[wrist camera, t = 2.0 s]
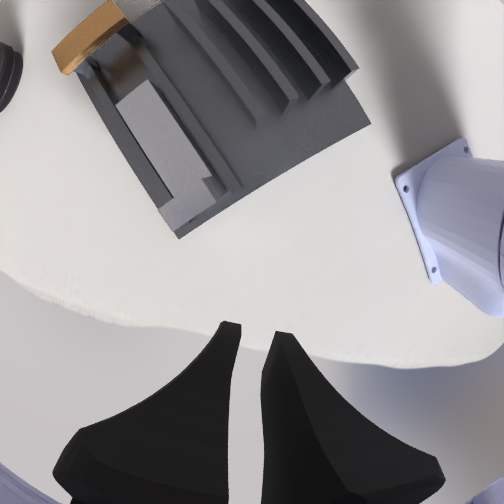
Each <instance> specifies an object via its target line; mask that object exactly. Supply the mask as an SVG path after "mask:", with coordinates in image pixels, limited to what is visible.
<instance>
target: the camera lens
mask: <svg viewBox="0 0 504 504" xmlns="http://www.w3.org/2000/svg"><path fill="white" fill-rule="evenodd" d="M22 66H23V62H22V57H21V55H20V54H19V53H17V52H14V51H13V49H12V47H11V46H8V45H6V44H4V43H2V42H0V112H2V111H3V110H4V109H5V108H6V106H7V105H8V104H9V102H10V101H11V99H12V97H13V95H14V93H15V91H16V89H17V86H18V84H19V81H20V77H21V73H22Z"/></svg>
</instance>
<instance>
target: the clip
mask: <svg viewBox="0 0 504 504" xmlns="http://www.w3.org/2000/svg"><path fill="white" fill-rule="evenodd" d="M115 106H116V107H117V109H118V110H119V112H120V114H121V115H122V117H123V119H124V120H125V122H126V123H127V125H128V127H129V128H130V130H131V131H132V133H133V135H134V136H135V138H136V139H137V141H138V143H139V144H140V146H141V147H142V149H143V150H144V152H145V154H146V155H147V157H148V158H149V160H150V161H151V163H152V164H153V166H154V168H155V169H156V171H157V172H158V174H159V175H160V177H161V178H162V180H163V181H164V183H165V184H166V186H167V187H168V189H169V190H170V192H171V193H172V195H173V196H174V198H173V199H172V200H170V201H169V202H167V203H166V204H165V205H163V206H162V207H161V208H159V209H158V211H159V213H160V214H161V216H162V217H163V219H164V220H165V222H166V223H167V224H168V226H169V227H170V229H171V230H172V232H173V231H175V230H176V229H177V228H179V227H180V226H182V225H183V224H185V223H186V222H188V221H189V220H190V219H192V218H193V217H195V216H196V215H198V214H199V213H201V212H202V211H204V210H205V209H207V208H208V207H210V206H211V205H213V204H214V203H216V202H217V201H218V200H219V199H220V198H221V197H222V196H223V195H224V194H225V193H226V192H227V190H226V189H225V187H224V186H223V184H222V183H221V181H220V180H219V178H218V177H217V175H216V174H215V172H214V171H213V169H212V168H211V166H210V165H209V163H208V162H207V160H206V159H205V157H204V156H203V154H202V153H201V151H200V150H199V148H198V147H197V145H196V144H195V142H194V141H193V139H192V138H191V136H190V135H189V133H188V132H187V130H186V129H185V127H184V126H183V124H182V123H181V121H180V120H179V118H178V117H177V115H176V114H175V112H174V111H173V110H172V108H171V107H170V105H169V104H168V102H167V101H166V99H165V98H164V96H163V95H162V93H161V92H160V90H159V89H158V87H157V86H156V85H155V84H154V83H152V82H151V81H149V80H148V79H147V80H146V81H144V82H143V83H142V84H141V85H139V86H138V87H137V88H136V89H134V90H133V91H132V92H131V93H129V94H128V95H127V96H126V97H125V98H123V99H122V100H121V101H120V102H119V103H118V104H116V105H115Z"/></svg>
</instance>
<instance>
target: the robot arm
mask: <svg viewBox="0 0 504 504" xmlns="http://www.w3.org/2000/svg"><path fill="white" fill-rule="evenodd" d="M464 148H465V151H464ZM395 184H396V187H397V189H398V191H399V194H400V196H401V198H402V201H403V203H404V206H405V208H406V211H407V213H408V216H409V218H410V221H411V224H412V226H413V229H414V232H415V235H416V238H417V240H418V243H419V246H420V249H421V253H422V256H423V259H424V262H425V266H426V269H427V272H428V276H429V280H430V282H431V283H432V284H433V285H437V284H438V283H440V282H441V281H442V280H443V281H445V282H446V283H447V284H448V285H450V286H451V287H452V288H454V289H455V290H456V291H457V292H459V293H460V294H461V295H462V296H464V297H465V298H466V299H467V300H469V301H470V302H471V303H472V304H474V305H475V306H476V307H477V308H478V309H480V310H481V311H482V312H484V313H485V314H488V315H490V316H494V317H504V161H499V160H490V159H480V158H473V157H472V154H471V151H470V148H469V146H468V143H467V141H466V139H465V138H458V139H457V140H455V141H454V142H452V143H450V144H449V145H447V146H445V147H444V148H442V149H441V150H439V151H437V152H436V153H434V154H433V155H431V156H429V157H428V158H426V159H424V160H423V161H421V162H420V163H418V164H416V165H415V166H413V167H411V168H410V169H408V170H407V171H405V172H403V173H402V174H400V175H398V176H397V177H396V180H395ZM405 185H406V187H407V189H406V191H405V192H404V191H403V188H404V186H405ZM433 267H434V269H433V271H432V268H433ZM240 339H241V324H237V323H232V322H227V321H223V322H221V323H220V325H219V328H218V329H217V331H216V333H215V334H214V336H213V337H212V339H211V340H210V342H209V343H208V344H207V345H206V347H205V348H204V349H203V350H202V352H201V353H200V354H199V355H198V356H197V357H196V358H195V359H194V360H193V361H192V362H191V363H190V364H189V365H188V366H187V367H186V368H185V369H184V370H183V371H182V372H181V373H180V374H179V375H178V376H177V377H175V378H174V379H173V380H172V381H170V382H169V383H168V384H167V385H165V386H164V387H162V388H161V389H160V390H158V391H157V392H155V393H154V394H153V395H151V396H150V397H148V398H146V399H145V400H143V401H141V402H140V403H138V404H136V405H134V406H132V407H130V408H129V409H127V410H125V411H123V412H121V413H119V414H117V415H115V416H112V417H110V418H108V419H105V420H102V421H100V422H97V423H95V424H92V425H89V426H87V427H84V428H81V429H79V430H78V432H77V433H76V434H75V435H74V436H73V437H72V439H71V440H70V441H69V443H68V444H67V445H66V447H65V448H64V450H63V452H62V453H61V455H60V457H59V459H58V461H57V463H56V465H55V467H54V469H53V476H54V478H55V480H56V481H57V482H58V483H59V484H60V485H61V486H62V487H63V488H64V489H65V490H66V491H67V492H68V493H69V494H70V495H71V496H72V497H73V498H72V500H71V503H70V504H228V501H229V492H228V491H229V489H228V420H229V400H230V385H231V377H232V371H233V367H234V363H235V358H236V355H237V351H238V347H239V343H240ZM261 410H262V423H263V437H264V470H263V485H262V498H261V504H419V503H421V502H422V501H424V500H425V499H427V498H428V497H430V496H431V495H433V494H434V493H435V492H437V491H438V490H439V489H440V488H441V487H442V486H443V484H444V482H445V480H446V479H445V477H444V474H443V472H442V470H441V467H440V465H439V463H438V461H437V458H436V457H434V456H432V455H430V454H427V453H425V452H423V451H420V450H418V449H416V448H413V447H411V446H409V445H407V444H405V443H403V442H402V441H400V440H398V439H397V438H395V437H393V436H391V435H390V434H388V433H387V432H385V431H384V430H382V429H380V428H379V427H378V426H376V425H375V424H374V423H372V422H371V421H370V420H368V419H367V418H365V417H364V416H363V415H362V414H361V413H360V412H358V411H357V410H356V409H355V408H354V407H353V406H352V405H351V404H349V403H348V402H347V401H346V400H345V399H344V398H343V397H342V396H341V395H340V394H339V393H338V392H337V391H336V390H335V388H334V387H333V386H332V385H331V384H330V383H329V382H328V381H327V379H326V378H325V377H324V376H323V375H322V373H321V372H320V371H319V370H318V368H317V367H316V366H315V365H314V363H313V362H312V360H311V359H310V358H309V356H308V355H307V354H306V352H305V351H304V349H303V348H302V346H301V345H300V344H299V342H298V341H297V339H296V338H295V337H294V335H293V334H291V333H285V332H279V331H276V332H275V335H274V338H273V341H272V344H271V347H270V350H269V353H268V356H267V359H266V361H265V364H264V367H263V370H262V378H261ZM0 504H61V503H59V502H57V501H56V500H54V499H52V498H50V497H49V496H47V495H45V494H44V493H42V492H40V491H39V490H37V489H36V488H34V487H33V486H31V485H30V484H28V483H27V482H25V481H24V480H23V479H21V478H20V477H18V476H17V475H16V474H14V473H13V472H12V471H10V470H9V469H8V468H6V467H5V466H4V465H2V464H1V463H0ZM464 504H504V478H503V477H501V478H500V479H498V480H497V481H495V482H494V483H492V484H491V485H489V486H488V487H486V488H485V489H484V490H482V491H481V492H480V493H478V494H477V495H476V496H474V497H473V498H472V499H471V500H469V501H467V502H465V503H464Z"/></svg>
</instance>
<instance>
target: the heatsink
mask: <svg viewBox="0 0 504 504" xmlns="http://www.w3.org/2000/svg"><path fill="white" fill-rule="evenodd" d="M161 1H162V4H160V5H158V6H157V7H155V8H154V9H152V10H151V11H149V12H147V13H146V14H144V15H143V16H142V17H140V18H139V19H137V20H136V21H134V22H133V23H132V22H131V21H130V20H129V19H128V18H127V17H126V16H125V15H124V14H123V12H122V11H121V10H120V8H119V7H118V6H117V4H116V3H115V2H114V1H112V0H108V1H107V2H106V3H104V4H103V5H102V6H101V7H99V8H98V9H97V10H96V11H94V12H93V13H92V14H91V15H89V16H88V17H87V18H86V19H85V20H84V21H82V22H81V23H80V24H79V25H78V26H77V27H76V28H75V29H74V30H73V31H71V32H70V33H69V34H68V35H67V36H66V37H65V38H64V39H63V40H62V41H61V42H60V43H59V44H58V45H57V46H56V47H55V48H54V49H53V50H52V51H51V52H52V54H53V56H54V59H55V61H56V63H57V65H58V67H59V69H60V71H61V73H63V74H66V75H69V74H70V73H71V72H72V71H74V72H76V73H77V75H78V77H79V79H80V81H81V83H82V85H83V86H84V88H85V90H86V92H87V94H88V95H89V97H90V99H91V101H92V103H93V104H94V106H95V108H96V110H97V111H98V113H99V115H100V117H101V118H102V120H103V122H104V124H105V125H106V127H107V129H108V130H109V132H110V134H111V135H112V137H113V139H114V140H115V142H116V144H117V145H118V147H119V149H120V150H121V152H122V154H123V155H124V157H125V158H126V160H127V162H128V163H129V165H130V166H131V168H132V170H133V171H134V173H135V174H136V176H137V177H138V179H139V181H140V182H141V184H142V185H143V187H144V188H145V190H146V191H147V193H148V194H149V196H150V197H151V199H152V201H153V202H154V204H155V205H156V207H157V208H158V209H159V208H161V207H162V206H163V205H165V204H166V203H167V202H169V201H170V200H172V199H173V198H174V196H173V195H172V193H171V192H170V190H169V189H168V187H167V186H166V184H165V183H164V181H163V180H162V178H161V177H160V175H159V174H158V172H157V171H156V169H155V168H154V166H153V164H152V163H151V161H150V160H149V158H148V157H147V155H146V154H145V152H144V150H143V149H142V147H141V146H140V144H139V143H138V141H137V139H136V138H135V136H134V135H133V133H132V131H131V130H130V128H129V127H128V125H127V123H126V122H125V120H124V119H123V117H122V115H121V114H120V112H119V110H118V109H117V107H116V106H115V105H116V104H118V103H119V102H120V101H121V100H122V99H123V98H125V97H126V96H127V95H128V94H129V93H131V92H132V91H133V90H134V89H136V88H137V87H138V86H139V85H141V84H142V83H143V82H144V81H146V80H147V79H148V80H149V81H151V82H152V83H154V84H155V85H156V86H157V87H158V89H159V90H160V92H161V93H162V95H163V96H164V98H165V99H166V101H167V102H168V104H169V105H170V107H171V108H172V110H173V111H174V112H175V114H176V115H177V117H178V118H179V120H180V121H181V123H182V124H183V126H184V127H185V129H186V130H187V132H188V133H189V135H190V136H191V138H192V139H193V141H194V142H195V144H196V145H197V147H198V148H199V150H200V151H201V153H202V154H203V156H204V157H205V159H206V160H207V162H208V163H209V165H210V166H211V168H212V169H213V171H214V172H215V174H216V175H217V177H218V178H219V180H220V181H221V183H222V184H223V186H224V187H225V189H226V190H227V192H226V193H225V194H224V195H223V196H222V197H221V198H220V199H219V200H218V201H217V202H216V203H214V204H213V205H211V206H210V207H208V208H207V209H205V210H204V211H202V212H201V213H199V214H198V215H196V216H195V217H193V218H192V219H190V220H189V221H188V222H186V223H185V224H183V225H182V226H180V227H179V228H177V229H176V230H175V231H173V232H174V233H175V235H176V236H177V237H178V239H180V238H182V237H183V236H185V235H186V234H188V233H189V232H191V231H192V230H194V229H195V228H197V227H198V226H200V225H201V224H203V223H204V222H206V221H207V220H209V219H210V218H212V217H214V216H215V215H217V214H218V213H220V212H221V211H223V210H224V209H226V208H227V207H229V206H231V205H232V204H234V203H235V202H237V201H238V200H240V199H242V198H243V197H245V196H246V195H248V194H250V193H251V192H253V191H254V190H256V189H258V188H259V187H261V186H263V185H264V184H266V183H267V182H269V181H271V180H272V179H274V178H276V177H277V176H279V175H281V174H282V173H284V172H286V171H287V170H289V169H291V168H293V167H294V166H296V165H298V164H299V163H301V162H303V161H305V160H306V159H308V158H310V157H312V156H313V155H315V154H317V153H319V152H320V151H322V150H324V149H326V148H327V147H329V146H331V145H333V144H335V143H336V142H338V141H340V140H342V139H344V138H346V137H347V136H349V135H351V134H353V133H355V132H357V131H359V130H360V129H362V128H364V127H366V126H368V125H370V124H371V122H370V120H369V119H368V117H367V115H366V113H365V112H364V110H363V108H362V107H361V105H360V103H359V102H358V100H357V98H356V97H355V95H354V94H353V92H352V91H351V89H350V88H349V86H348V84H347V83H346V81H345V80H346V79H347V78H348V77H350V76H351V75H352V74H353V73H354V72H355V71H357V70H358V69H359V67H358V65H357V64H356V62H355V61H354V60H353V58H352V57H351V55H350V54H349V53H348V51H347V50H346V49H345V47H344V46H343V45H342V43H341V42H340V41H339V40H338V38H337V37H336V36H335V34H334V33H333V32H332V31H331V30H330V28H329V27H328V26H327V25H326V24H325V22H324V21H323V20H322V19H321V18H320V17H319V16H318V14H317V13H316V12H315V11H314V10H313V9H312V8H311V7H310V6H309V5H308V4H307V2H306V1H305V0H161ZM115 33H117V35H116V36H114V37H113V38H112V39H111V40H109V41H108V42H107V43H106V44H105V45H103V46H102V47H101V48H100V49H99V50H98V51H96V52H95V53H94V54H93V55H92V56H89V55H90V54H91V53H92V52H93V51H95V50H96V49H97V48H98V47H99V46H100V45H101V44H103V43H104V42H105V41H106V40H107V39H109V38H110V37H111V36H112V35H114V34H115Z"/></svg>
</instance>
